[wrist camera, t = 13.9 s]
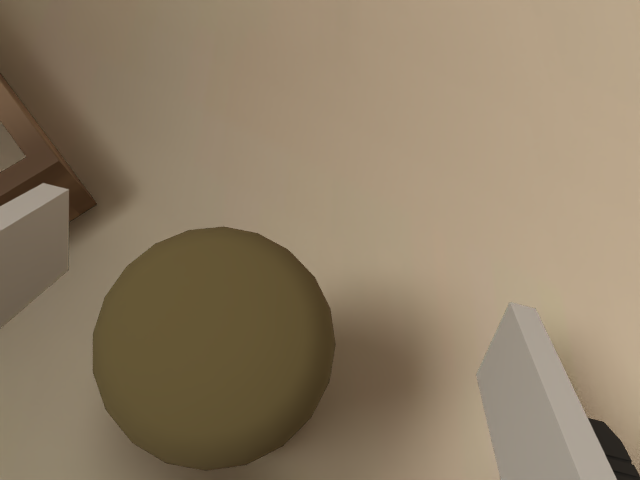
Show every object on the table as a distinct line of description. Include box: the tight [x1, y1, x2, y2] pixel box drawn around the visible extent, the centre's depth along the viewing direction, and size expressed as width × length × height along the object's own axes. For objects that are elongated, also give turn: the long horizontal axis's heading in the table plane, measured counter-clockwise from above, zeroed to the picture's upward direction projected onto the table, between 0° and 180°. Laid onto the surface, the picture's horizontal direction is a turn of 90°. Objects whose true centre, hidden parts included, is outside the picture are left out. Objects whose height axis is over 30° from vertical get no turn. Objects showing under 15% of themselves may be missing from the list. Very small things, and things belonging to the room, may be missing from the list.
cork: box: [93, 227, 335, 471], centre depth 15 cm, size 6×6×11 cm
